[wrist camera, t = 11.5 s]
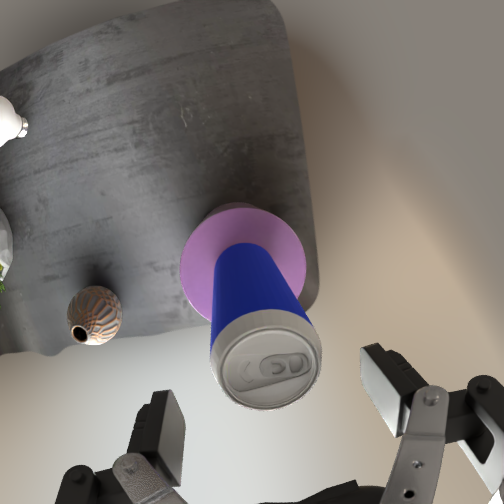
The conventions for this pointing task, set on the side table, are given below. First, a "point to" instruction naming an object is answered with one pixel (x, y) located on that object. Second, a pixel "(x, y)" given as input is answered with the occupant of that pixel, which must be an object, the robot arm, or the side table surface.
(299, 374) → the beverage can
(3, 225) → the potted plant
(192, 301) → the jar
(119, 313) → the vase
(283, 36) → the side table surface
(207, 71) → the side table surface
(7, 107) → the light bulb
